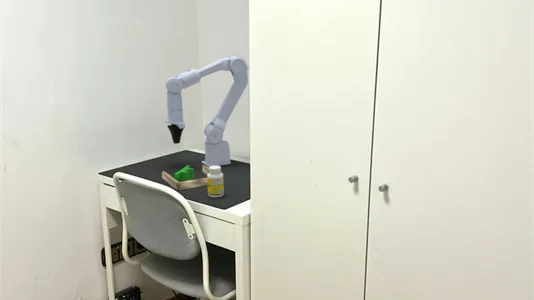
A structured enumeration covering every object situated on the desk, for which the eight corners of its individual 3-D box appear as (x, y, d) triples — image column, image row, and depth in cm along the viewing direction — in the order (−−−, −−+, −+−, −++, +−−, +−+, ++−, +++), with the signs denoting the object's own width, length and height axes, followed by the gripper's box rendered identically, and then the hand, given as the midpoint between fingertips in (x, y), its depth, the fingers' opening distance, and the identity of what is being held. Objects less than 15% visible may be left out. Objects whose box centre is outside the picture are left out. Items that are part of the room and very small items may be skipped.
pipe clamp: (184, 187, 203) (184, 174, 202) (175, 186, 204) (174, 174, 203) (197, 177, 213) (196, 165, 212) (187, 177, 214) (187, 165, 213)
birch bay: (205, 171, 220) (204, 164, 220) (222, 182, 207) (222, 175, 206) (162, 178, 212) (161, 171, 212) (177, 190, 199) (177, 183, 198)
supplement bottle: (207, 192, 196) (207, 165, 194) (223, 192, 197) (223, 164, 194) (207, 198, 191) (206, 169, 189) (224, 197, 192) (223, 169, 189)
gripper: (158, 106, 226) (160, 140, 229) (171, 112, 214) (173, 148, 217) (175, 105, 229) (177, 138, 233) (189, 111, 217) (190, 146, 220)
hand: (176, 143), depth 225 cm, fingers closed
